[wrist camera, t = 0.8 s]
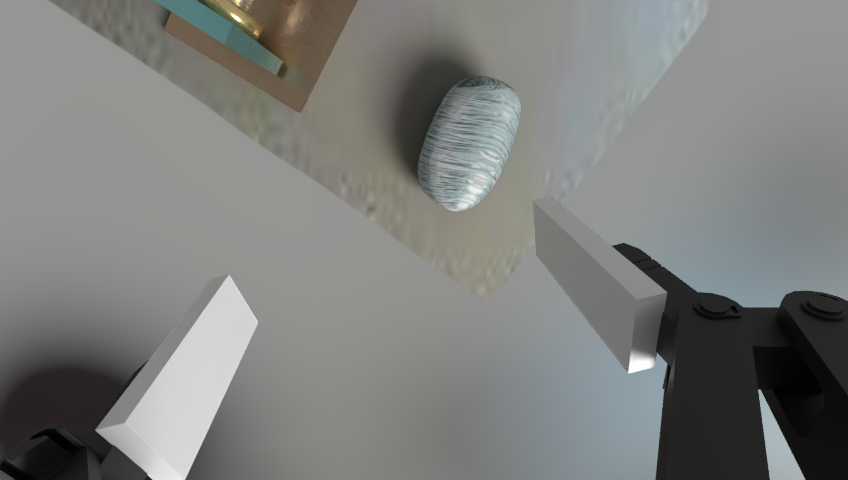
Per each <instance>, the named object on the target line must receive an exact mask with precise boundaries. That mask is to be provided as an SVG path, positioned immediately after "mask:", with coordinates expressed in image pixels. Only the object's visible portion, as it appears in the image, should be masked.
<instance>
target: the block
mask: <svg viewBox="0 0 848 480" xmlns="http://www.w3.org/2000/svg"><path fill="white" fill-rule="evenodd" d="M154 1H155V2H157V3H158V4H160V5H162V6H163V7H165V8H166V9H168V10H170V11H171V12H173V13H174V14H176V15H178V16H179V17H181V18H182V19H184V20H186V21H187V22H189V23H190V24H192V25H194V26H195V27H197V28H198V29H200V30H202V31H203V32H205V33H206V34H208V35H210V36H211V37H213V38H214V39H216V40H218V41H219V42H221V43H222V44H224V45H226V46H227V47H229V48H231V49H232V50H234V51H236V52H237V53H239V54H241V55H242V56H244V57H246V58H248V59H249V60H251V61H253V62H254V63H256V64H258V65H259V66H261V67H263V68H264V69H266V70H268V71H269V72H271V73H273V74H274V75H276V76H277V74H278V72H279V70H280V68H281V65H282V63H283V61H282V60H280V59H279V58H278V57H276V56H275V55H274V54H272V53H271V52H270V51H268V50H267V49H266V48H264V47H263V46H262V45H260V44H259V43H258V42H257V40H258V38H259V36H260V34H261V32H262V29H263V27H264V25H263V24H262V23H260V22H259V21H258V20H257V19H256V18H254V17H253V16H252V15H250V14H249V10H250V8H251V6H252V4H253V1H254V0H154Z"/></svg>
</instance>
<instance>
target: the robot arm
mask: <svg viewBox="0 0 848 480" xmlns="http://www.w3.org/2000/svg"><path fill="white" fill-rule="evenodd" d="M533 210H534V226H535V242H536V255H537V257H538V258H539V259H540V260H541V262H542V263H543V264H544V265H545V267H546V268H547V269H548V271H549V272H550V273H551V275H552V276H553V277H554V278H555V280H556V281H557V282H558V284H559V285H560V286H561V287H562V289H563V290H564V291H565V292H566V294H567V295H568V296H569V298H570V299H571V300H572V302H573V303H574V304H575V305H576V307H577V308H578V309H579V310H580V312H581V313H582V314H583V316H584V317H585V318H586V320H587V321H588V322H589V323H590V325H591V326H592V327H593V328H594V330H595V331H596V332H597V334H598V335H599V336H600V338H601V339H602V340H603V341H604V343H605V344H606V345H607V347H608V348H609V349H610V350H611V352H612V353H613V354H614V356H615V357H616V358H617V359H618V361H619V362H620V363H621V365H622V366H623V367H624V369H625V370H626V371H627V372H628V373H631V372H636V371H640V370H644V369H648V368H653V367H655V361H656V355H657V353H658V354H659V355H660V356H661V357H662V358H663V359H664V360H665V361H666V362H667V369H666V374H665V379H664V384H663V389H664V398H663V408H662V418H661V428H660V439H659V449H658V460H657V470H656V480H770V478H769V470H768V463H767V455H766V447H765V440H764V433H763V424H762V417H761V410H760V401H759V394H758V389H761V391H762V393H763V395H764V397H765V399H766V401H767V403H768V405H769V407H770V409H771V411H772V413H773V415H774V417H775V419H776V421H777V423H778V425H779V427H780V429H781V431H782V433H783V435H784V437H785V439H786V441H787V443H788V445H789V447H790V449H791V451H792V453H793V455H794V457H795V459H796V461H797V463H798V465H799V467H800V469H801V471H802V474H803V476H804V477H805V480H848V301H846V300H844V299H842V298H840V297H837V296H833V295H829V294H826V293H820V292H814V291H794V292H792V293H789V294H786V295H785V297H784V298H783V300H782V302H781V305H780V307H779V308H745V307H742V306H740V305H739V304H738V303H737V302H735V301H733V300H731V299H729V298H727V297H725V296H721V295H717V294H713V293H701V292H699V293H698V292H697V291H695V290H694V289H692V288H691V287H690V286H688V285H687V284H686V283H684V282H683V281H682V280H680V279H679V278H678V277H676V276H675V275H674V274H672V273H671V272H670V271H668V270H667V269H666V268H664V267H661V265H660V264H659V263H658V262H656V261H655V260H652V259H651V257H650V256H648V255H647V254H646V253H644V252H643V251H642V250H640V249H638V248H636V247H633V246H630V245H628V244H625V243H622V244H618V245H614V246H611V245H609V244H608V243H607V242H606V241H605V240H603V239H602V238H601V237H600V236H599V235H597V234H596V233H595V232H594V231H593V230H591V229H590V228H589V227H588V226H587V225H585V224H584V223H583V222H582V221H580V220H579V219H578V218H577V217H576V216H574V215H573V214H572V213H571V212H570V211H568V210H567V209H566V208H565V207H564V206H562V205H561V204H560V203H559V202H557V201H556V200H555V199H554V198H553V197H551V196H549V197H545V198H540V199H536V200H533ZM257 324H258V321H257V319H256V318H255V316H254V315H253V313H252V311H251V310H250V308H249V306H248V305H247V303H246V301H245V300H244V298H243V297H242V295H241V293H240V292H239V290H238V288H237V287H236V285H235V283H234V282H233V280H232V278H231V277H230V275H225V276H221V277H217V278H212V279H211V280H210V281H209V283H208V284H207V285H206V286H205V288H204V289H203V290H202V292H201V293H200V294H199V296H198V297H197V298H196V299H195V301H194V302H193V304H192V305H191V306H190V307H189V309H188V310H187V311H186V313H185V314H184V315H183V316H182V318H181V319H180V320H179V322H178V323H177V324H176V326H175V327H174V328H173V330H172V331H171V332H170V333H169V335H168V336H167V337H166V339H165V340H164V341H163V342H162V344H161V345H160V346H159V348H158V349H157V350H156V352H155V353H154V354H153V355H152V357H151V358H150V359H149V360H148V361H147V362H146V363H145V364H144V365H142V366H141V367H140V368H139V369H138V370H137V371H136V372H135V373H134V374H133V375H132V376H131V378H130V379H129V380H128V382H127V383H126V384H125V385H124V389H121V390H120V392H119V393H118V394H117V396H116V397H115V400H114V401H112V402H111V403H110V404H109V406H108V407H107V408H106V409H105V411H104V412H103V413H102V415H101V416H100V417H99V418H98V420H97V421H96V422H95V424H94V425H93V426H92V428H91V429H90V430H89V431H88V432H87V434H86V435H85V436H84V438H83V439H82V440H81V439H79V438H78V437H77V436H76V435H74V434H73V433H72V432H71V431H69V430H68V429H67V428H66V427H64V426H63V425H62V424H52V425H49V426H46V427H43V428H41V429H39V430H38V431H36V432H34V433H32V434H30V435H29V436H27V437H26V438H24V439H23V440H22V441H20V442H19V443H17V444H16V445H15V446H14V447H13V448H12V449H10V450H9V451H8V452H7V453H6V454H5V455H4V456H3V457H2V458H1V460H0V479H1V480H144V479H145V477H146V476H147V475H148V476H149V477H150V478H152V479H153V480H184V479H185V478H186V476H187V474H188V472H189V470H190V468H191V466H192V463H193V461H194V459H195V457H196V455H197V453H198V450H199V448H200V446H201V444H202V442H203V440H204V438H205V436H206V433H207V431H208V429H209V427H210V425H211V423H212V421H213V418H214V416H215V414H216V412H217V410H218V407H219V406H220V403H221V401H222V399H223V397H224V395H225V393H226V391H227V388H228V386H229V384H230V382H231V380H232V378H233V375H234V373H235V371H236V369H237V367H238V365H239V363H240V361H241V358H242V356H243V354H244V352H245V350H246V348H247V345H248V343H249V341H250V339H251V337H252V335H253V333H254V330H255V328H256V326H257Z"/></svg>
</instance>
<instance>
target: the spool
mask: <svg viewBox="0 0 848 480" xmlns="http://www.w3.org/2000/svg"><path fill="white" fill-rule="evenodd" d="M520 111H521V106H520V101H519V99H518V96H517V94H516V93H515V91H514V90H513V89H512V88H511V87H510V86H509V85H507V84H506V83H504V82H502V81H500V80H497V79H494V78H490V77H485V76H476V77H470V78H466V79H463V80H461V81H460V82H458V83H456V84H455V85H454V86H453V87H452V88H451V89H450V91H449V92H448V93H447V94H446V96H445V97H444V99H443V101H442V103H441V105H440V106H439V108H438V110H437V112H436V114H435V116H434V118H433V121H432V123H431V125H430V127H429V130H428V132H427V135H426V138H425V140H424V144H423V147H422V150H421V153H420V158H419V163H418V179H419V184H420V186H421V188H422V190H423V191H424V193H425V194H426V195H427V196H428V197H429V198H431V199H432V200H433V201H435V202H436V203H438V204H440V205H441V206H443V207H445V208H447V209H449V210H452V211H462V210H466V209H468V208H471V207H473V206H475V205H476V204H478V203H479V202H480V201H481V200H482V199H483V198H484V197H485V196H486V195H487V194H488V193H489V191H490V190H491V188H492V187H493V185H494V184H495V182H496V180H497V179H498V177H499V175H500V173H501V171H502V169H503V167H504V164H505V162H506V160H507V158H508V155H509V152H510V150H511V147H512V144H513V141H514V138H515V135H516V131H517V128H518V124H519V119H520Z"/></svg>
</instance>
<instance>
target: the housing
mask: <svg viewBox="0 0 848 480" xmlns="http://www.w3.org/2000/svg"><path fill="white" fill-rule="evenodd" d="M356 2H357V0H254V1H253V4H252V6H251V8H250V10H249V14H250V15H252V16H253V17H254V18H256V19H257V20H258V21H259V22H260V23H262V24H263V25H264V27H263V29H262V32H261V34H260V36H259V38H258V40H257V42H258V43H259V44H260V45H262V46H263V47H264V48H266V49H267V50H268V51H270V52H271V53H272V54H274V55H275V56H276V57H278V58H279V59H280V60H282V61H283V63H282V65H281V68H280V70H279V72H278V74H277V76H276V75H274V74H273V73H271V72H269V71H268V70H266V69H264V68H263V67H261V66H259V65H258V64H256V63H254V62H253V61H251V60H249V59H248V58H246V57H244V56H242V55H241V54H239V53H237V52H236V51H234V50H232V49H231V48H229V47H227V46H226V45H224V44H222V43H221V42H219V41H218V40H216V39H214V38H213V37H211V36H210V35H208V34H206V33H205V32H203V31H202V30H200V29H198V28H197V27H195V26H194V25H192V24H190V23H189V22H187V21H186V20H184V19H182V18H181V17H179V16H178V15H176V14H174V13H173V12H171V14H170V16H169V19H168V21H167V24H166V26H165V29H164V30H165V31H167V32H168V33H170V34H171V35H173V36H175V37H176V38H178V39H180V40H181V41H183V42H185V43H186V44H188V45H189V46H191V47H193V48H194V49H196V50H198V51H199V52H201V53H203V54H204V55H206V56H207V57H209V58H211V59H212V60H214V61H216V62H217V63H219V64H221V65H222V66H224V67H225V68H227V69H229V70H230V71H232V72H234V73H235V74H237V75H239V76H240V77H242V78H243V79H245V80H247V81H248V82H250V83H252V84H253V85H255V86H257V87H258V88H260V89H261V90H263V91H265V92H266V93H268V94H270V95H271V96H273V97H275V98H276V99H278V100H279V101H281V102H283V103H284V104H286V105H288V106H289V107H291V108H293V109H294V110H296V111H297V112H300V113H301V111H302V109H303V107H304V105H305V103H306V101H307V99H308V97H309V95H310V93H311V91H312V89H313V87H314V85H315V83H316V81H317V79H318V77H319V75H320V73H321V71H322V69H323V67H324V65H325V63H326V61H327V59H328V57H329V55H330V53H331V51H332V49H333V47H334V45H335V43H336V41H337V40H338V38H339V36H340V34H341V32H342V30H343V28H344V26H345V24H346V22H347V20H348V18H349V16H350V14H351V12H352V10H353V8H354V6H355V4H356Z"/></svg>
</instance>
